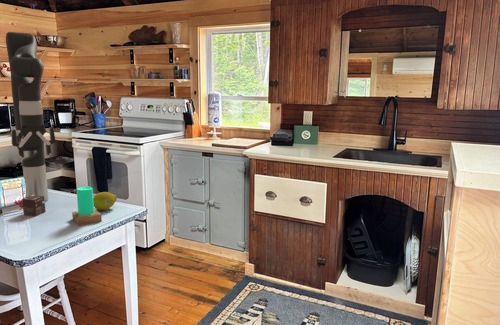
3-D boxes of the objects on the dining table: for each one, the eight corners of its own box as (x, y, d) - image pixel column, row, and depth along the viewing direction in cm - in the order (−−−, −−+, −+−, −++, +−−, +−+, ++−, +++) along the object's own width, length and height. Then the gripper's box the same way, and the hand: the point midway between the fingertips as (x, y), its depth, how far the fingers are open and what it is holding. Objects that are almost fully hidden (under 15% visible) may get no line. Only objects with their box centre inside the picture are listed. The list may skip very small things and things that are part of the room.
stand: (72, 218, 158) (72, 211, 157) (95, 214, 163) (94, 207, 163) (78, 225, 151) (77, 218, 150) (101, 221, 156) (101, 213, 156)
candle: (82, 216, 152) (80, 187, 150) (75, 212, 156) (73, 184, 153) (96, 212, 157) (95, 184, 154) (89, 209, 160) (87, 181, 158)
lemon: (92, 213, 164) (91, 196, 163) (90, 208, 171) (89, 191, 169) (118, 210, 169) (117, 193, 167) (116, 205, 176) (115, 188, 174)
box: (35, 216, 159) (34, 200, 158) (23, 215, 160) (21, 198, 159) (46, 211, 165) (44, 195, 164) (33, 210, 166) (32, 194, 165)
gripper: (50, 111, 148) (53, 152, 152) (7, 112, 139) (12, 156, 143) (54, 113, 142) (58, 155, 146) (10, 114, 134) (15, 159, 137)
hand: (35, 155), depth 144 cm, fingers open, 8 cm apart
